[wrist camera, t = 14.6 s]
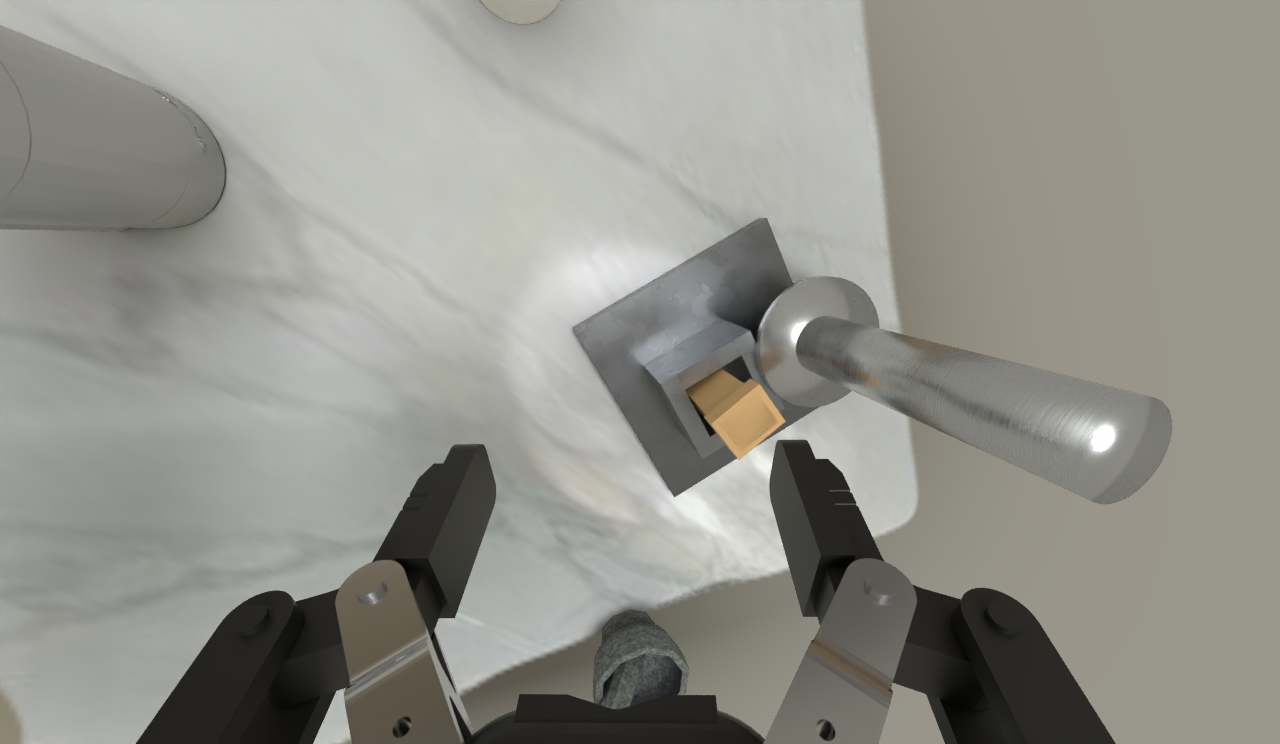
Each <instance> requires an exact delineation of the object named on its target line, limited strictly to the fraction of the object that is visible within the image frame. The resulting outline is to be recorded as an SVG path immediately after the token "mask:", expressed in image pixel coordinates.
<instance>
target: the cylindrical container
mask: <svg viewBox="0 0 1280 744" xmlns="http://www.w3.org/2000/svg"><path fill="white" fill-rule="evenodd" d="M480 1H481V2H482V3H483V4H484V5H485V7H486V8H487V9H489V10H490V11H491V12H492V13H494V14H495V15H496V16H498V17H500V18H502V19H503V20H506V21H509V22H511V23H516V24H532V23H535V22H538V21H541V20H543V19H544V18H546V17H547V16H549V15H550V14H551V13H552V11H553V10H554V9H555V8H556V7H557V5H558V3H559V1H560V0H480Z"/></svg>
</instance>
